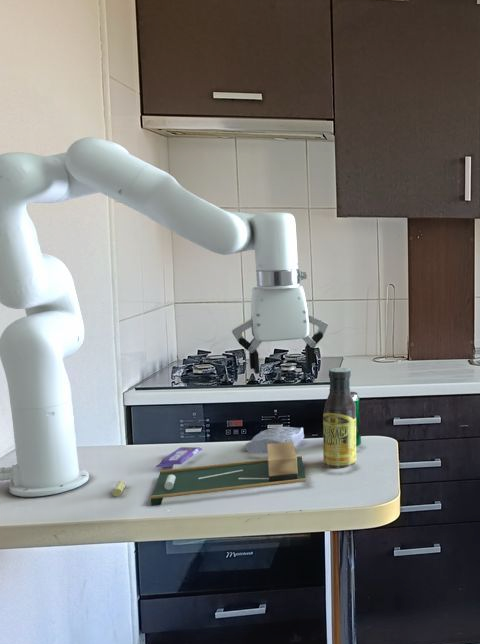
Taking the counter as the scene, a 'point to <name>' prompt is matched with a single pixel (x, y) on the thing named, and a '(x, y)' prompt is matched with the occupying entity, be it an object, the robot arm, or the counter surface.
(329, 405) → the sauce bottle
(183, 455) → the snack package
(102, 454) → the counter surface
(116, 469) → the counter surface
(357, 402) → the soda can
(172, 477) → the chalk stick
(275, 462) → the eraser
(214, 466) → the chalkboard
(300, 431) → the stone block
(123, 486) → the chalk stick
